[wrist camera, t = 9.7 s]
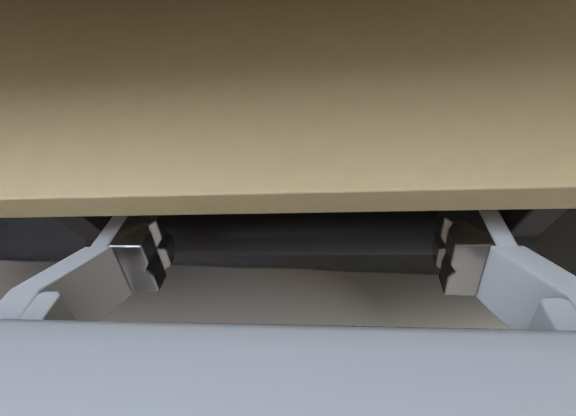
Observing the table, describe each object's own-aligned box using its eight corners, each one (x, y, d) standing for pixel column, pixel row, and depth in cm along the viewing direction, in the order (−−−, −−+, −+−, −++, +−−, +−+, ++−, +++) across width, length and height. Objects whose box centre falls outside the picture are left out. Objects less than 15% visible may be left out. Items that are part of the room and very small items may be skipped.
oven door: (596, -192, 14) (867, 180, 7) (516, -7, 20) (619, 288, 13) (35, -125, 17) (-171, 203, 10) (118, 22, 23) (30, 285, 16)
